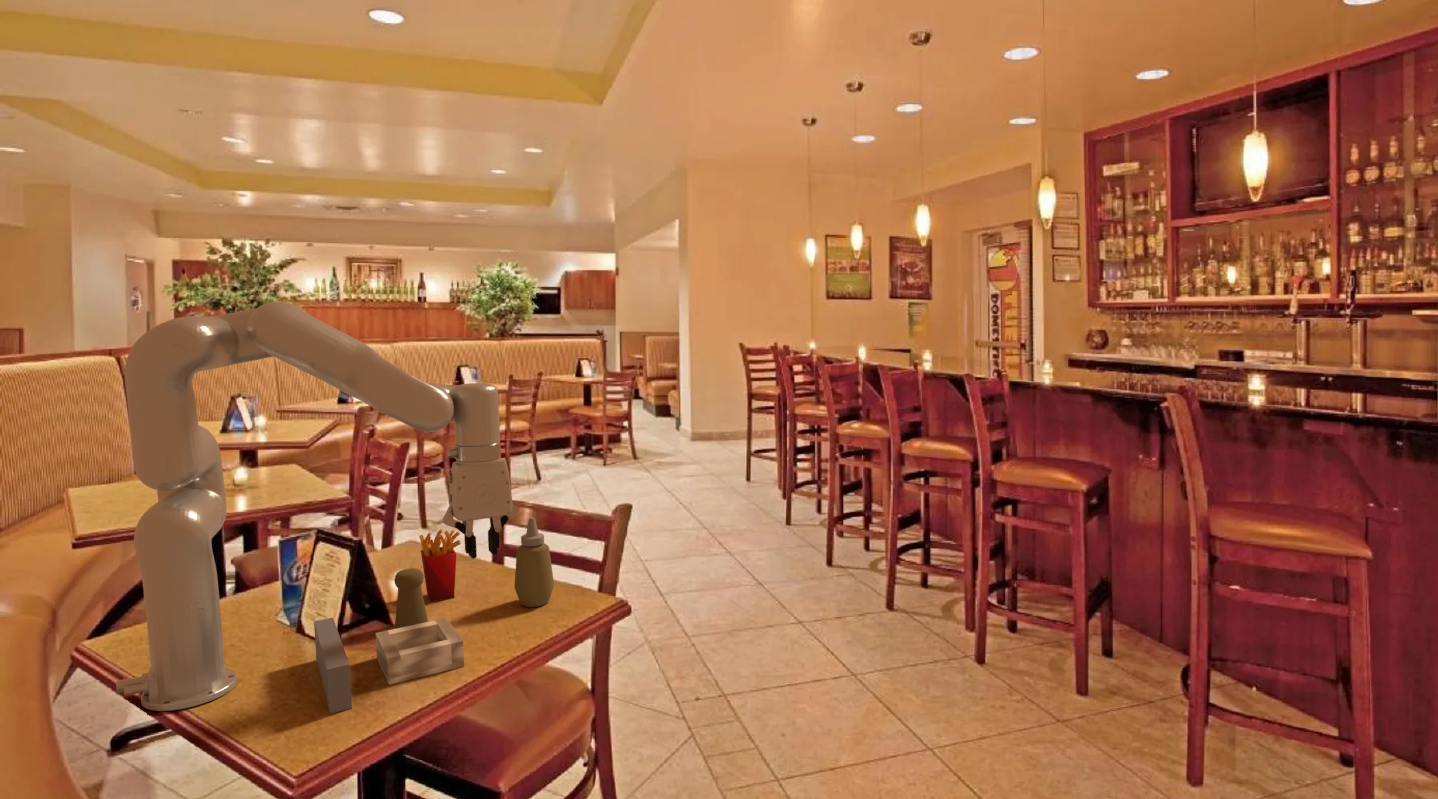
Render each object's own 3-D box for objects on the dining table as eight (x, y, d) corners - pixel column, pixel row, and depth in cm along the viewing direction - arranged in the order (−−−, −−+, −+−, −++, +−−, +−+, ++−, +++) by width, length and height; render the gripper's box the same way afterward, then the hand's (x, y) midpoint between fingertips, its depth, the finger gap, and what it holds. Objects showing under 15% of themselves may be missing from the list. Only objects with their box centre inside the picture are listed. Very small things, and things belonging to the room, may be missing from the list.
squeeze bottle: (536, 593, 164) (534, 511, 162) (562, 600, 160) (560, 517, 158) (506, 604, 158) (503, 519, 156) (532, 612, 153) (529, 525, 151)
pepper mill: (416, 632, 144) (413, 576, 143) (388, 630, 145) (384, 574, 144) (434, 620, 150) (431, 566, 149) (406, 618, 151) (404, 564, 150)
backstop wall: (330, 713, 114) (327, 669, 113) (316, 659, 133) (313, 621, 132) (352, 708, 116) (349, 664, 115) (335, 655, 134) (333, 617, 133)
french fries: (421, 594, 164) (418, 526, 163) (461, 587, 168) (458, 521, 167) (427, 607, 157) (423, 536, 155) (468, 600, 160) (465, 531, 159)
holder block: (388, 684, 123) (387, 658, 123) (376, 657, 133) (375, 633, 133) (464, 666, 130) (463, 640, 129) (447, 641, 140) (446, 618, 139)
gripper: (434, 461, 126) (440, 568, 128) (530, 451, 135) (534, 552, 137) (425, 455, 133) (430, 557, 134) (517, 446, 141) (521, 542, 143)
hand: (482, 553), depth 136 cm, fingers open, 3 cm apart
